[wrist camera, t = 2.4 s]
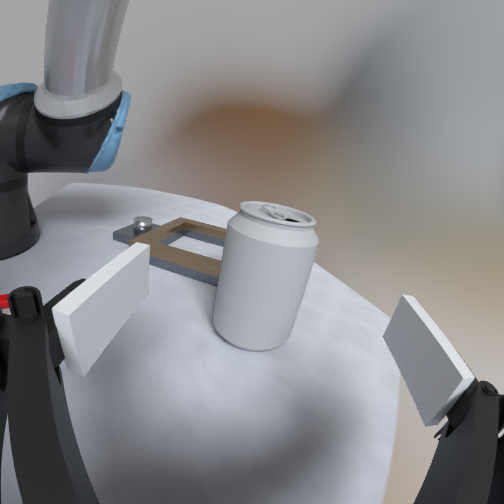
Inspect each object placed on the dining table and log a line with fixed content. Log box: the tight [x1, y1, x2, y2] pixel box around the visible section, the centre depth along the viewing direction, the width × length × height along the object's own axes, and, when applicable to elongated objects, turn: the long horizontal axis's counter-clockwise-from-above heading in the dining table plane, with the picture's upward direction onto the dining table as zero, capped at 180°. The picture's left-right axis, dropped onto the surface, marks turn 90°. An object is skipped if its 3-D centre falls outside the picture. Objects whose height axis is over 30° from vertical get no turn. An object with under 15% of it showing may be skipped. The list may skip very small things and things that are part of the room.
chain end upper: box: [129, 217, 227, 277], centre depth 40 cm, size 21×15×4 cm
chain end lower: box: [113, 217, 225, 286], centre depth 41 cm, size 21×15×3 cm
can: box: [213, 201, 319, 351], centre depth 24 cm, size 8×8×12 cm
